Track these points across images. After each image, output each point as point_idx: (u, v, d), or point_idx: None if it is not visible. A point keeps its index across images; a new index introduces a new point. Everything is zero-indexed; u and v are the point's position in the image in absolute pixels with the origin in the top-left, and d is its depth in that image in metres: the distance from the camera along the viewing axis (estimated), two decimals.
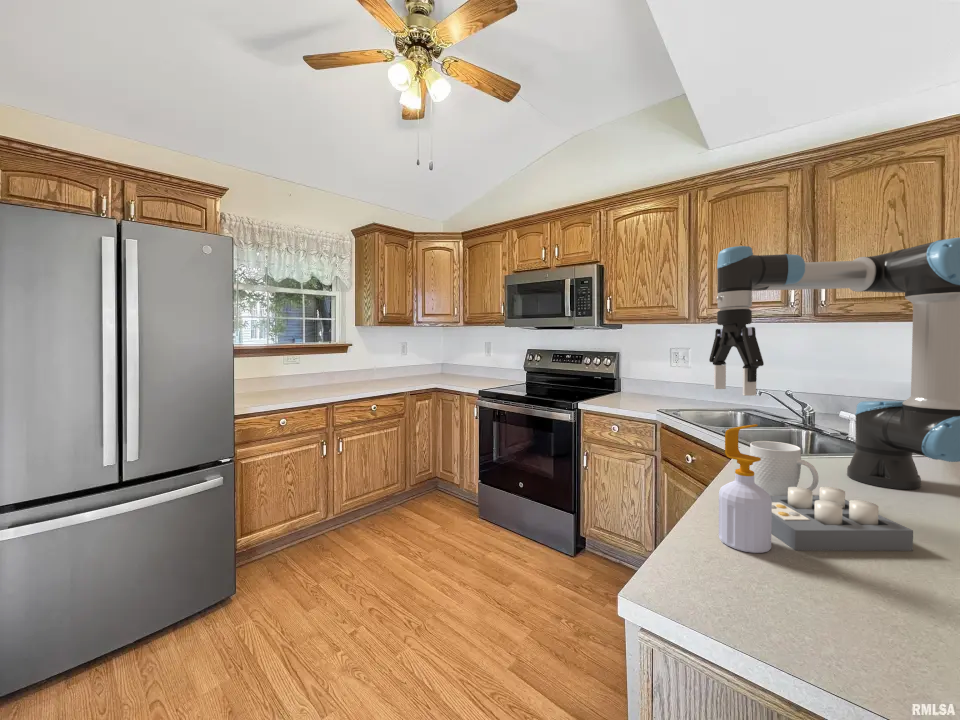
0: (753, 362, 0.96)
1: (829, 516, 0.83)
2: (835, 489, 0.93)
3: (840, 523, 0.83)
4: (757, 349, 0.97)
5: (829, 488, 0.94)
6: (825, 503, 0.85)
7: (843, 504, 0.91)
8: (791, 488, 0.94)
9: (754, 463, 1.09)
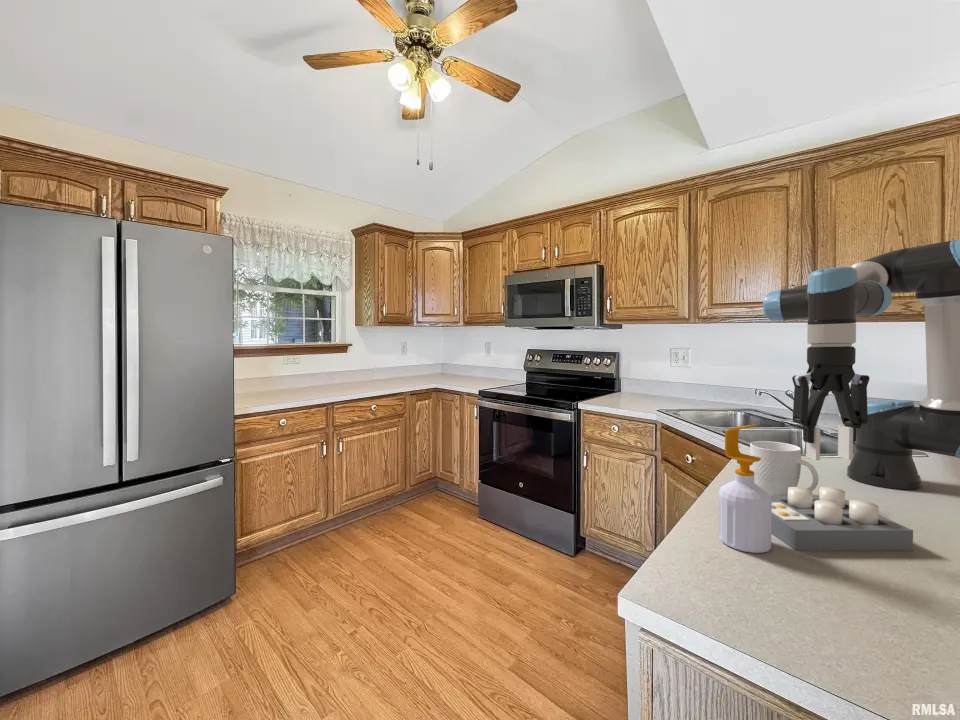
0: (793, 419, 0.85)
1: (829, 516, 0.83)
2: (835, 489, 0.93)
3: (840, 523, 0.83)
4: (800, 405, 0.84)
5: (829, 488, 0.94)
6: (825, 503, 0.85)
7: (843, 504, 0.91)
8: (791, 488, 0.94)
9: (754, 463, 1.09)
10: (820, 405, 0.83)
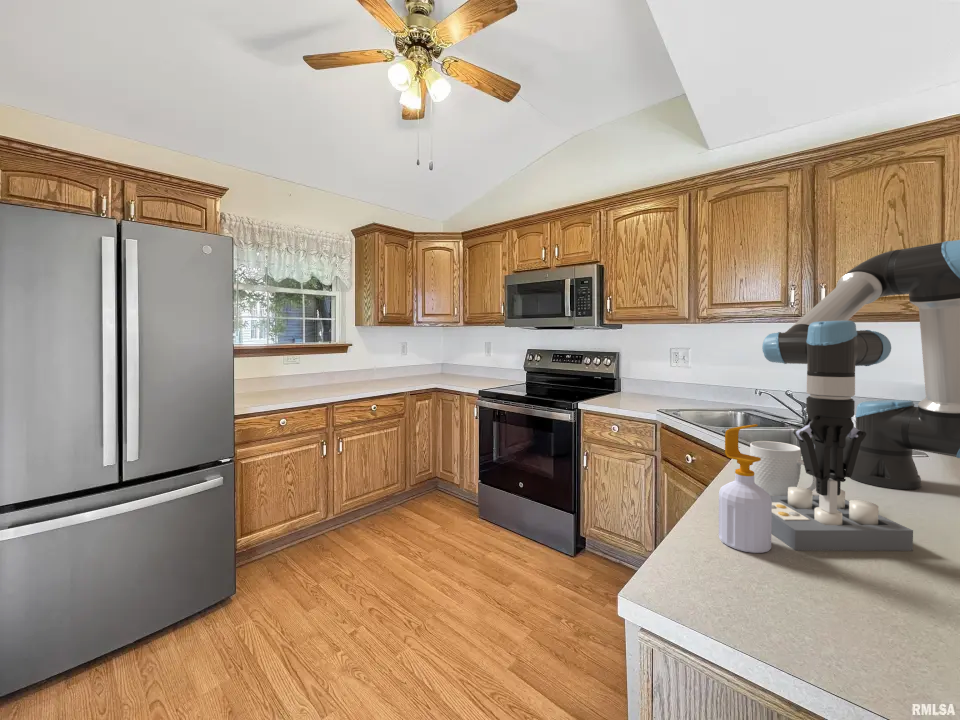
0: (806, 471, 0.86)
1: (828, 523, 0.83)
2: None
3: None
4: (808, 459, 0.84)
5: None
6: None
7: (843, 504, 0.91)
8: (791, 488, 0.94)
9: (754, 463, 1.09)
10: (828, 457, 0.83)
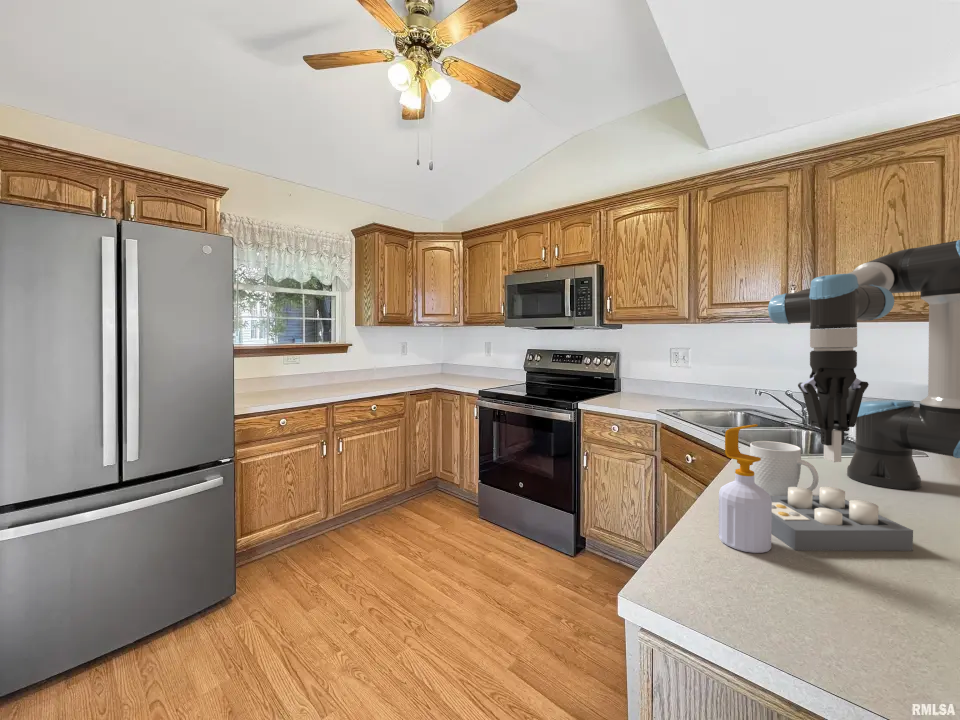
0: (811, 423, 0.88)
1: (828, 524, 0.83)
2: (835, 489, 0.93)
3: None
4: (813, 410, 0.86)
5: (829, 488, 0.94)
6: (825, 511, 0.85)
7: (843, 504, 0.91)
8: (791, 488, 0.94)
9: (754, 463, 1.09)
10: (832, 408, 0.86)
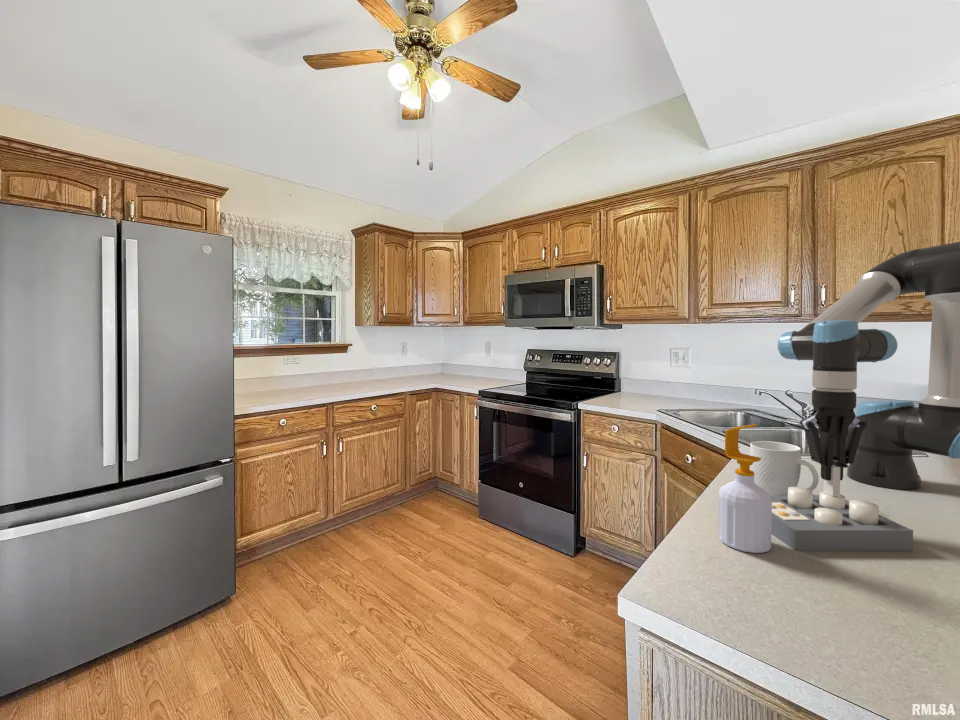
0: (812, 458, 0.93)
1: (828, 524, 0.83)
2: None
3: None
4: (814, 446, 0.92)
5: None
6: (825, 511, 0.85)
7: None
8: (791, 488, 0.94)
9: (754, 463, 1.09)
10: (831, 445, 0.91)
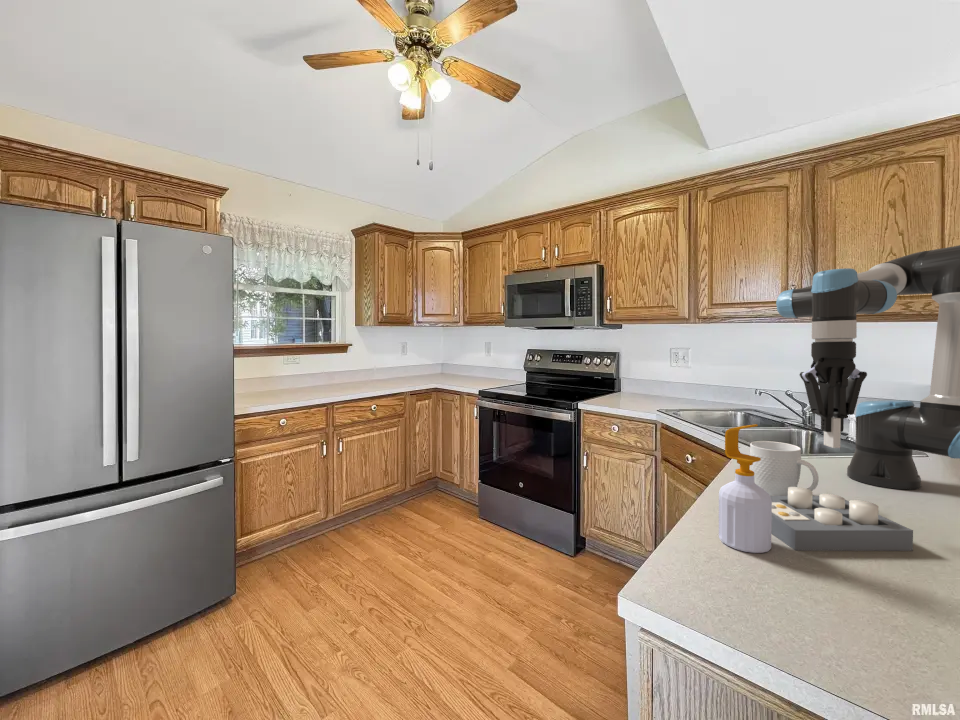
0: (812, 411, 0.93)
1: (828, 524, 0.83)
2: (835, 497, 0.93)
3: None
4: (814, 398, 0.91)
5: (829, 495, 0.94)
6: (825, 511, 0.85)
7: None
8: (791, 488, 0.94)
9: (754, 463, 1.09)
10: (831, 396, 0.90)
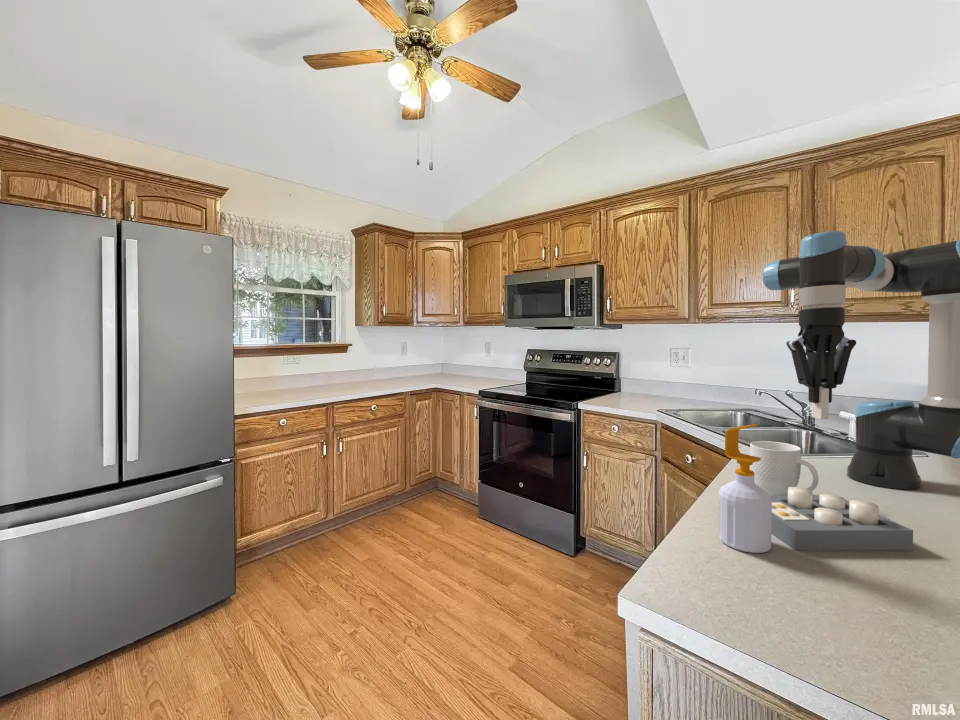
0: (799, 381, 0.89)
1: (828, 524, 0.83)
2: (835, 497, 0.93)
3: None
4: (801, 367, 0.87)
5: (829, 495, 0.94)
6: (825, 511, 0.85)
7: None
8: (791, 488, 0.94)
9: (754, 463, 1.09)
10: (819, 365, 0.87)
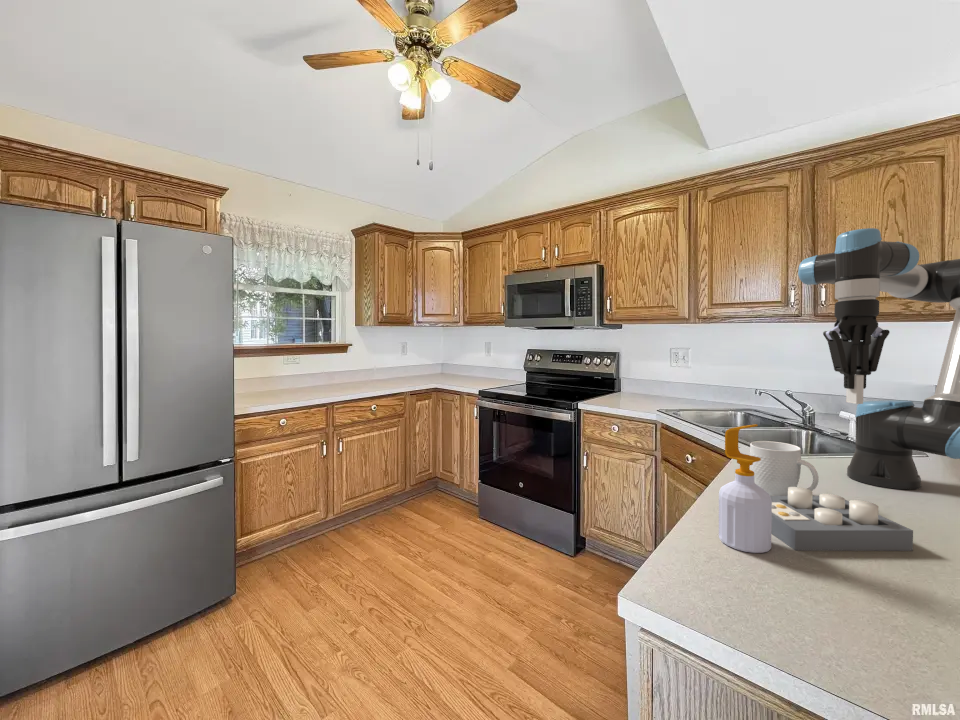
0: (835, 369, 0.95)
1: (828, 524, 0.83)
2: (835, 497, 0.93)
3: None
4: (837, 356, 0.93)
5: (829, 495, 0.94)
6: (825, 511, 0.85)
7: None
8: (791, 488, 0.94)
9: (754, 463, 1.09)
10: (855, 353, 0.93)
